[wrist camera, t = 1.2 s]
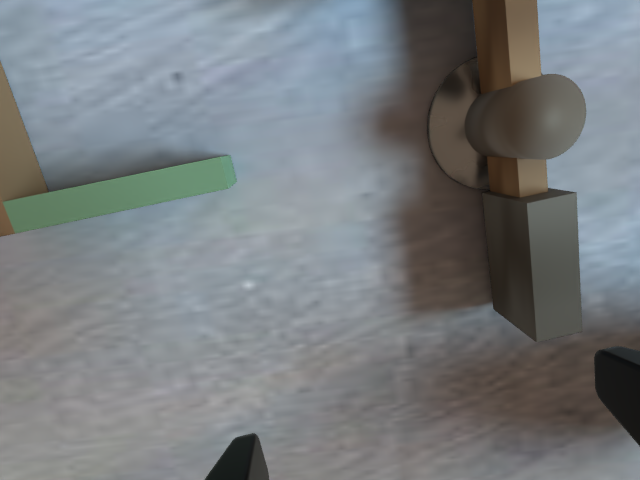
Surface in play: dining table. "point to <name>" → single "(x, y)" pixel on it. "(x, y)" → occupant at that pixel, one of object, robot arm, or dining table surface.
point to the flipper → (526, 172)
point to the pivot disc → (457, 127)
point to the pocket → (91, 199)
